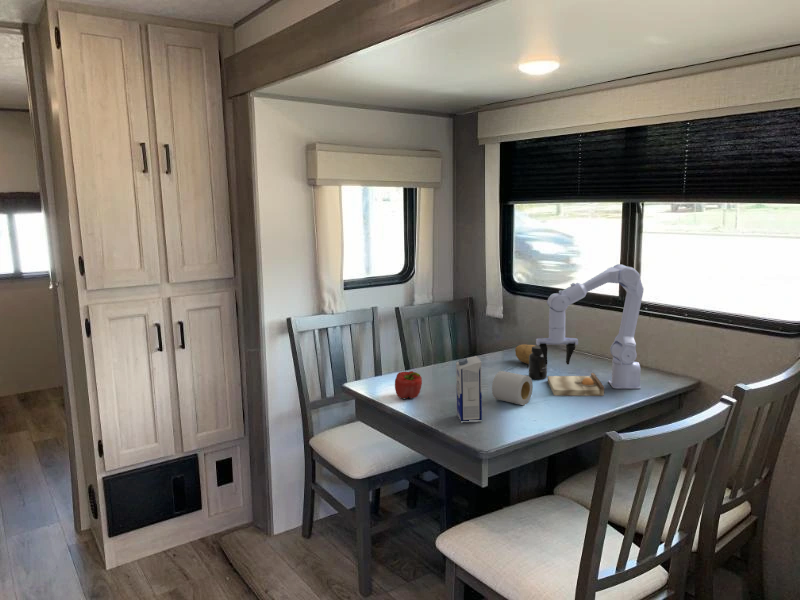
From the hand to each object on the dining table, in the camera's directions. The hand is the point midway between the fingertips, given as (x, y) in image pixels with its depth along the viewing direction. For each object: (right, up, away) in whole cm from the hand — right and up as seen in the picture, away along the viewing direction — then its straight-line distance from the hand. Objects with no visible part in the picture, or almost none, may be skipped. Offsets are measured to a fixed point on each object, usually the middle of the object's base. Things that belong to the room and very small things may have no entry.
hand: (556, 363), depth 213 cm
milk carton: (-35, -15, -24) cm, 45 cm away
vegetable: (-53, -12, -2) cm, 55 cm away
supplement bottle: (-3, -7, +15) cm, 17 cm away
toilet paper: (-18, -12, -10) cm, 24 cm away
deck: (+7, -9, +1) cm, 11 cm away
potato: (-3, -4, +33) cm, 33 cm away
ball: (+11, -7, 0) cm, 13 cm away
